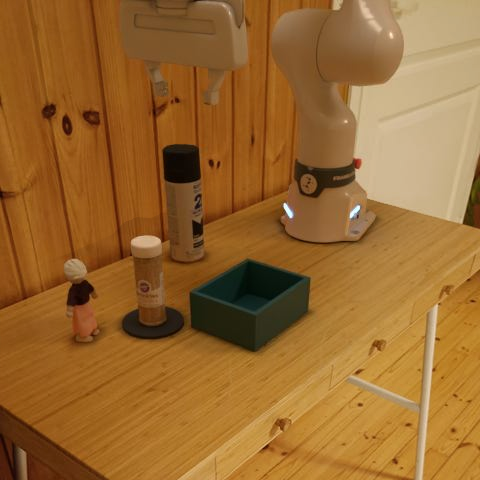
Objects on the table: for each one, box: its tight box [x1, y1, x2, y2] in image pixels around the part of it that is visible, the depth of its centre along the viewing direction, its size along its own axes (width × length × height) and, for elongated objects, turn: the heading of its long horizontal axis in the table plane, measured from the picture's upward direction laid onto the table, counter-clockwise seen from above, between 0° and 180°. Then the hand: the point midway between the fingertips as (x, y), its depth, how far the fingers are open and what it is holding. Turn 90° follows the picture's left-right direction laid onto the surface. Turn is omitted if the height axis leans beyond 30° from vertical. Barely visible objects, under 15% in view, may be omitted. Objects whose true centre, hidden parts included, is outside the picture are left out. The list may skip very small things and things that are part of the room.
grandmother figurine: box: [63, 258, 101, 343], centre depth 91 cm, size 8×4×13 cm, turn 171°
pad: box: [121, 306, 185, 340], centre depth 99 cm, size 10×10×1 cm
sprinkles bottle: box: [130, 234, 167, 326], centre depth 94 cm, size 5×5×14 cm
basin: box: [188, 257, 312, 352], centre depth 98 cm, size 16×13×6 cm
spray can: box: [161, 143, 205, 263], centre depth 113 cm, size 7×7×20 cm
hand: (185, 100), depth 88 cm, fingers open, 8 cm apart
